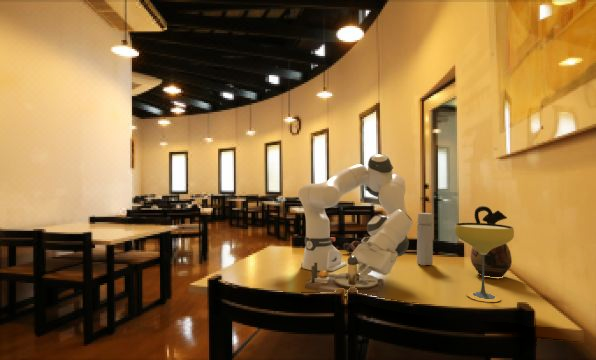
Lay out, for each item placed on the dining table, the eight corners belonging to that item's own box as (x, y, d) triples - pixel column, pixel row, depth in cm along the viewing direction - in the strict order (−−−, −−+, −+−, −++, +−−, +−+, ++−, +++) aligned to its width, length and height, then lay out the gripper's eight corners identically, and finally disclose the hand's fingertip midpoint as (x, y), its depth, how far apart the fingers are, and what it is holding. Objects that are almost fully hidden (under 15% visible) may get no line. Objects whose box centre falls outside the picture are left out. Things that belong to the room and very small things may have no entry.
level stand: (318, 276, 144) (318, 257, 144) (383, 284, 134) (383, 263, 134) (301, 291, 125) (301, 269, 125) (375, 300, 115) (375, 276, 115)
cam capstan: (321, 274, 139) (321, 246, 139) (376, 277, 135) (376, 249, 135) (316, 287, 122) (316, 255, 122) (379, 290, 118) (379, 258, 118)
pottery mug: (363, 253, 196) (366, 242, 192) (361, 264, 188) (365, 252, 184) (342, 247, 198) (345, 236, 194) (340, 257, 190) (343, 246, 186)
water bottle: (428, 267, 162) (428, 214, 163) (413, 264, 169) (413, 213, 169) (438, 264, 168) (438, 213, 168) (423, 261, 174) (423, 212, 175)
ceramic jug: (510, 274, 151) (510, 206, 151) (512, 283, 138) (513, 208, 138) (467, 269, 159) (467, 204, 159) (465, 277, 146) (466, 206, 146)
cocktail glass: (445, 289, 128) (445, 222, 128) (492, 289, 129) (492, 222, 129) (472, 307, 110) (472, 229, 110) (526, 306, 111) (527, 229, 111)
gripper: (405, 258, 117) (381, 290, 113) (370, 247, 136) (349, 275, 132) (394, 246, 115) (370, 278, 111) (361, 237, 134) (338, 264, 130)
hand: (358, 276), depth 122 cm, fingers closed
